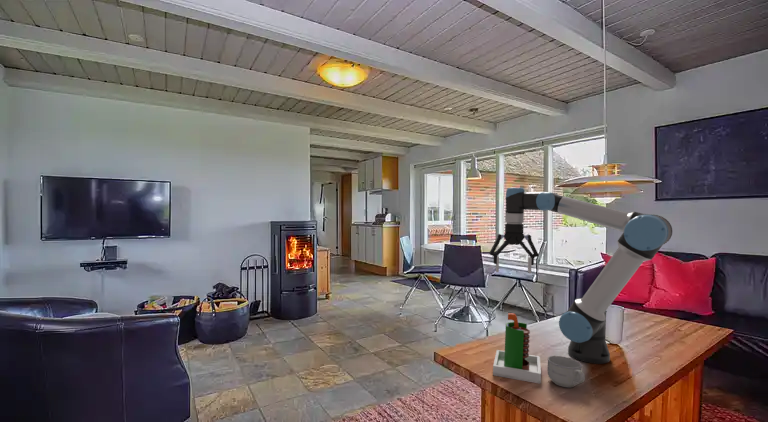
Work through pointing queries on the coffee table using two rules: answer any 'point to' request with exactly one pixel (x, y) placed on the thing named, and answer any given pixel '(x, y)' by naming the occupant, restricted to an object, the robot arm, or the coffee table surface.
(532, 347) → the coffee table surface
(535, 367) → the tray
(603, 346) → the robot arm
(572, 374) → the teacup
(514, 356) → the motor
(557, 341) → the coffee table surface
